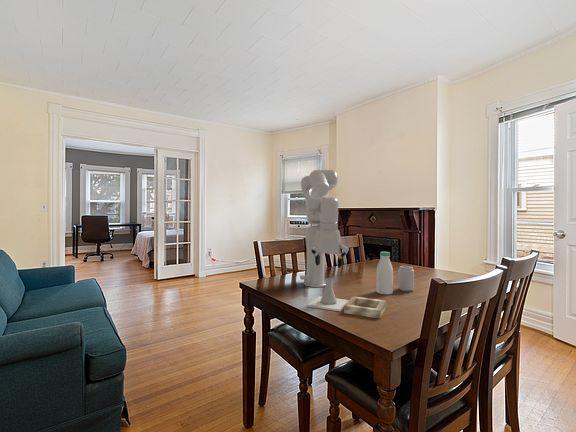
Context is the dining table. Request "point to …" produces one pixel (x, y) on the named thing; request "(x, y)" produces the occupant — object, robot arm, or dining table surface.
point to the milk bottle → (384, 274)
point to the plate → (334, 307)
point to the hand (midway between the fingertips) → (328, 266)
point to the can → (406, 278)
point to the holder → (365, 311)
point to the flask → (328, 293)
